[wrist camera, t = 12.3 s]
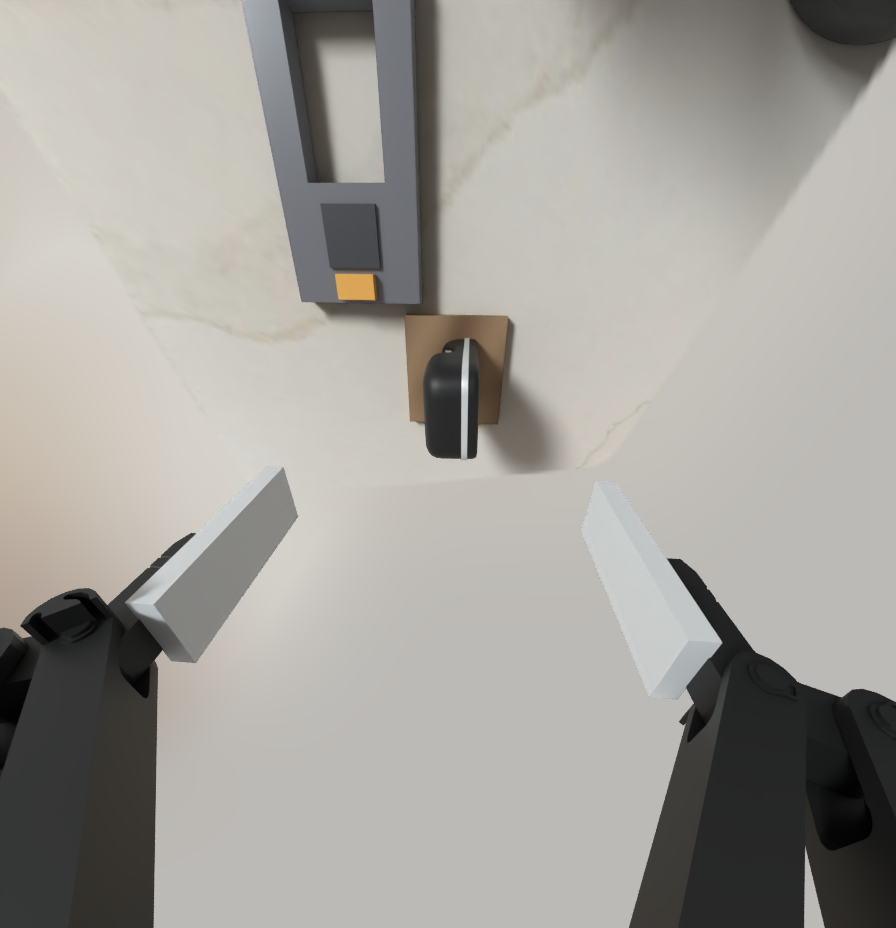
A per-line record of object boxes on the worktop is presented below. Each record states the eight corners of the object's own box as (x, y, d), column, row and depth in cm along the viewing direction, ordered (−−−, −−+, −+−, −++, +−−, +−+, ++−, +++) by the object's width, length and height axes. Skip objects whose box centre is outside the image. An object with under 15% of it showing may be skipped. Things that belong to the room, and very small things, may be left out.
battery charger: (434, 335, 29) (415, 369, 19) (477, 335, 29) (480, 369, 19) (437, 409, 33) (422, 469, 23) (475, 409, 32) (476, 470, 23)
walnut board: (507, 316, 29) (508, 317, 28) (497, 420, 34) (497, 424, 33) (406, 314, 29) (404, 315, 28) (411, 417, 34) (410, 421, 34)
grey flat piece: (413, -36, 19) (405, -79, 17) (422, 302, 29) (418, 305, 26) (250, -31, 20) (219, -72, 17) (311, 299, 29) (297, 302, 27)
